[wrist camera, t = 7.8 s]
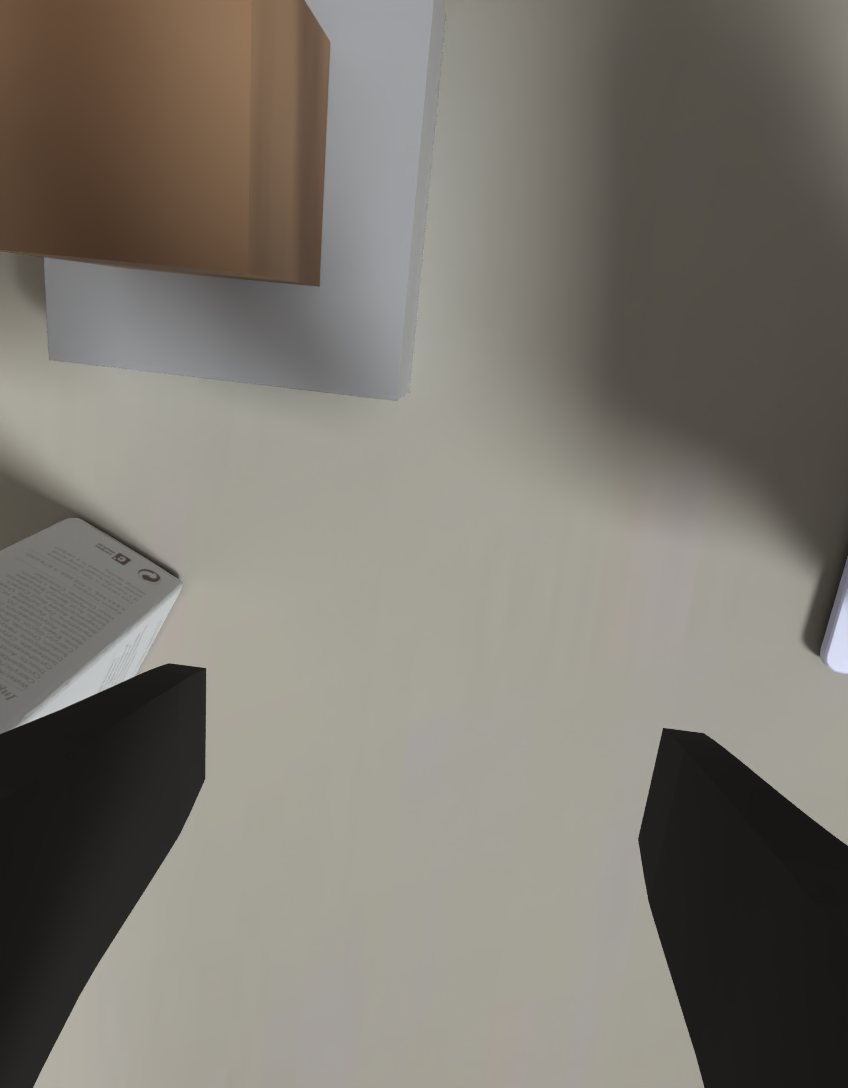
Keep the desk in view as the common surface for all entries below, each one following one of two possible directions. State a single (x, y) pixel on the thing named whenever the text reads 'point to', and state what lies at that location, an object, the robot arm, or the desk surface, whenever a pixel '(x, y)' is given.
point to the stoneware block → (346, 252)
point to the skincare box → (74, 618)
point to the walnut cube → (165, 135)
